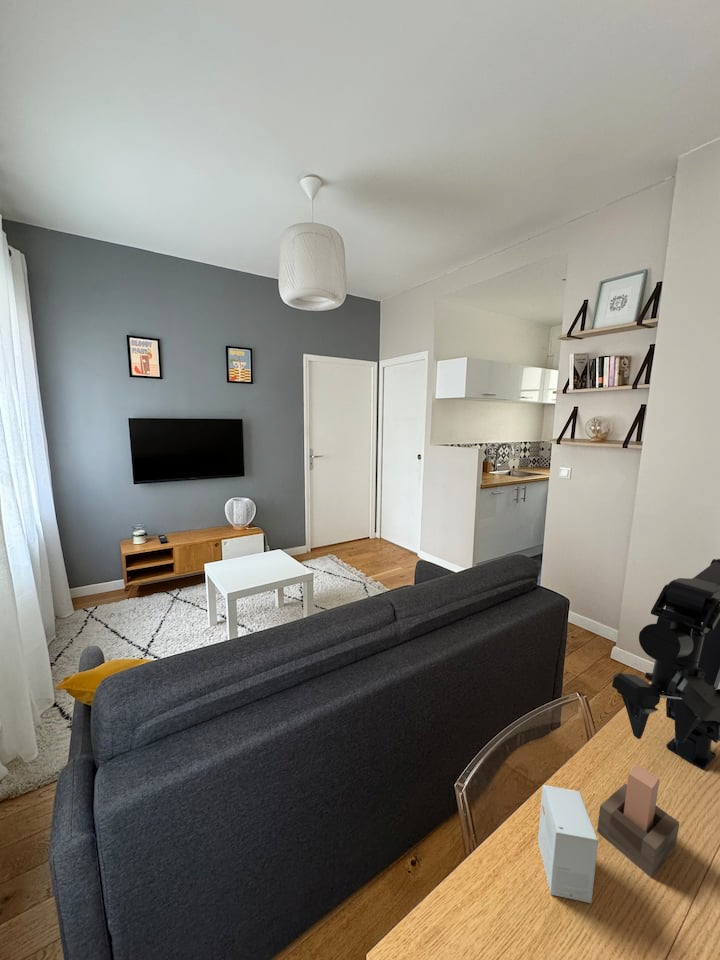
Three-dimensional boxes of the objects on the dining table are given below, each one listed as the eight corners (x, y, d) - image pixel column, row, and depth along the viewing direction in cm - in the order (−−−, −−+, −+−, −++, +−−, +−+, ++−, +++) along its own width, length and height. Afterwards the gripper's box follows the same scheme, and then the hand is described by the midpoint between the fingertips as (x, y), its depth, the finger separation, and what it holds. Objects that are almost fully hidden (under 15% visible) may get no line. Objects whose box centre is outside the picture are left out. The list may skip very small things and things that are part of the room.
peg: (628, 821, 68) (636, 763, 66) (651, 837, 65) (659, 777, 64) (621, 832, 66) (628, 773, 64) (643, 849, 64) (652, 788, 62)
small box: (592, 905, 57) (599, 842, 55) (549, 895, 58) (556, 833, 56) (574, 847, 65) (580, 790, 63) (536, 839, 66) (542, 783, 64)
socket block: (621, 808, 71) (625, 783, 71) (675, 849, 65) (679, 822, 64) (597, 831, 67) (600, 805, 66) (651, 877, 60) (655, 849, 60)
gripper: (679, 672, 62) (656, 771, 62) (772, 685, 65) (750, 778, 65) (619, 640, 72) (600, 723, 73) (702, 652, 76) (683, 731, 76)
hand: (658, 739), depth 72 cm, fingers open, 9 cm apart
